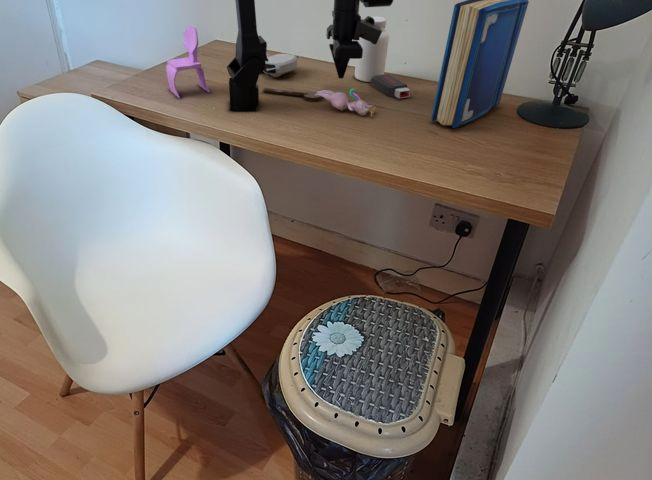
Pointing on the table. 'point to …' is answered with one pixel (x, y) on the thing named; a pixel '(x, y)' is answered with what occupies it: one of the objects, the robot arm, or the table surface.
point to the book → (477, 59)
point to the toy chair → (186, 61)
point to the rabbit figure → (346, 101)
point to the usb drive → (390, 86)
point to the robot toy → (280, 64)
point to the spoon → (295, 94)
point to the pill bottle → (373, 54)
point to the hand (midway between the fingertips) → (340, 78)
